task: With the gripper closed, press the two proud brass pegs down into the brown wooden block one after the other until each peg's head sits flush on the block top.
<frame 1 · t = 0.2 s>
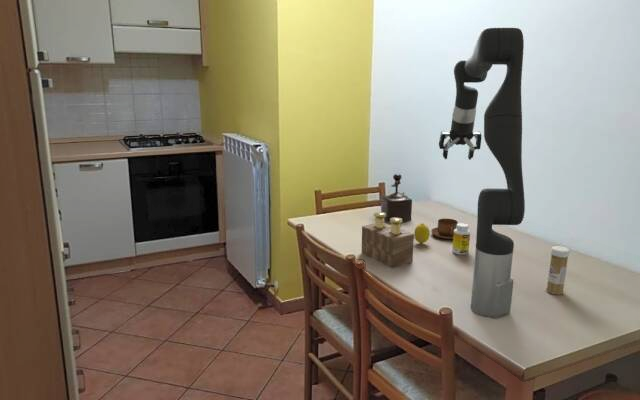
hand: (457, 158, 178), 31 cm above the table, tool tilted 20°, fingers open, 8 cm apart
lemon: (421, 244, 182), on the table
supplement bottle: (460, 252, 173), on the table
far peg: (379, 227, 169), point 10 cm above the table, slide at 0.0 cm
sprinkles bottle: (554, 292, 142), on the table
brown wooden block: (386, 257, 168), on the table
cup and saucer: (446, 236, 191), on the table
pepper mill: (394, 217, 216), on the table
near peg: (395, 233, 163), point 10 cm above the table, slide at 0.0 cm
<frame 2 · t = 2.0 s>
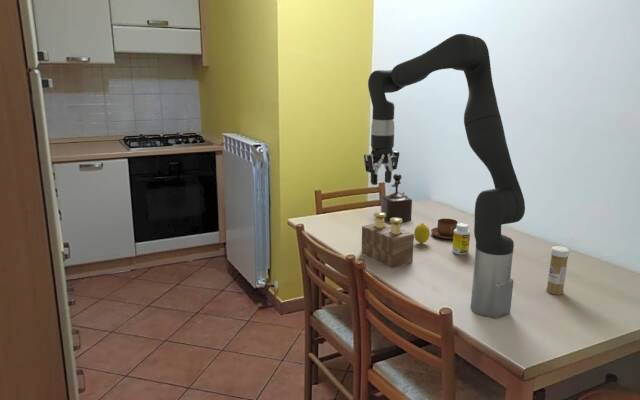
hand: (381, 183, 165), 25 cm above the table, tool pointing down, fingers open, 5 cm apart
nothing on the table moved.
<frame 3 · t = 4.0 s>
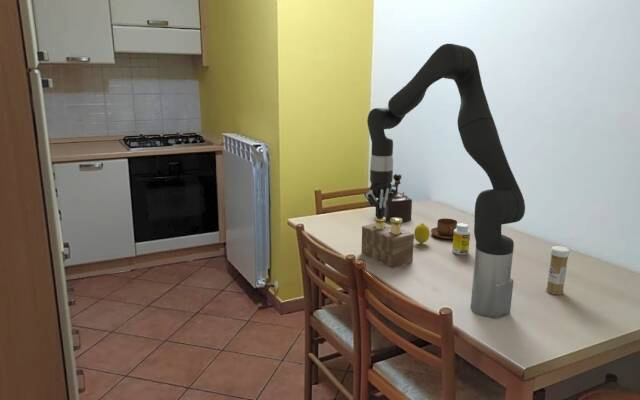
hand: (379, 217, 168), 13 cm above the table, tool pointing down, fingers closed
far peg: (379, 231, 170), point 8 cm above the table, slide at 1.5 cm, touching gripper
everything else where it was.
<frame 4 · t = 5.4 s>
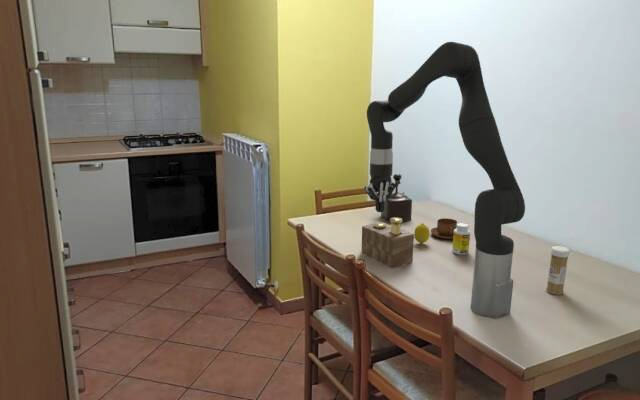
hand: (379, 211, 168), 16 cm above the table, tool pointing down, fingers closed
far peg: (379, 237, 170), point 6 cm above the table, slide at 3.9 cm
everything else where it was.
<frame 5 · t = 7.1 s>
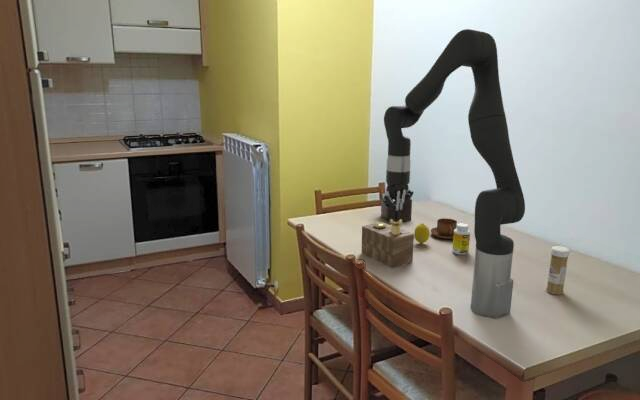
hand: (396, 220, 162), 14 cm above the table, tool pointing down, fingers closed
near peg: (395, 234, 163), point 10 cm above the table, slide at 0.4 cm, touching gripper
everything else where it was.
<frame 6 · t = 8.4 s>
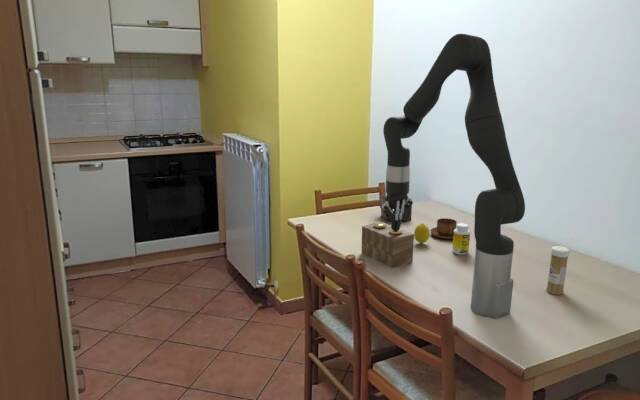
hand: (395, 230, 162), 11 cm above the table, tool pointing down, fingers closed
near peg: (395, 244, 164), point 6 cm above the table, slide at 3.9 cm
everything else where it was.
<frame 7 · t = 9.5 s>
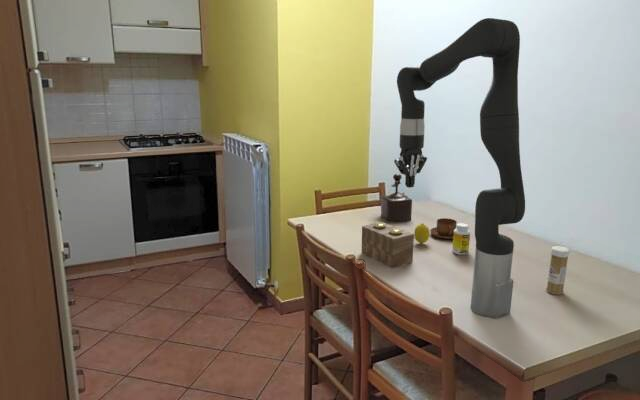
hand: (409, 186, 158), 26 cm above the table, tool pointing down, fingers closed
nothing on the table moved.
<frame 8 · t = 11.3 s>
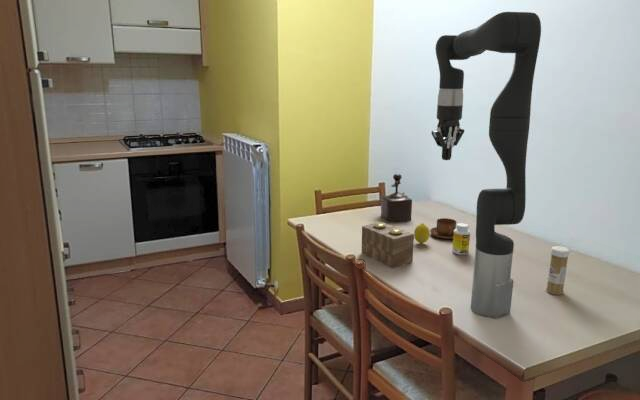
hand: (446, 159, 154), 35 cm above the table, tool pointing down, fingers closed
nothing on the table moved.
at the end: far peg slide at 3.9 cm; near peg slide at 3.9 cm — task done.
